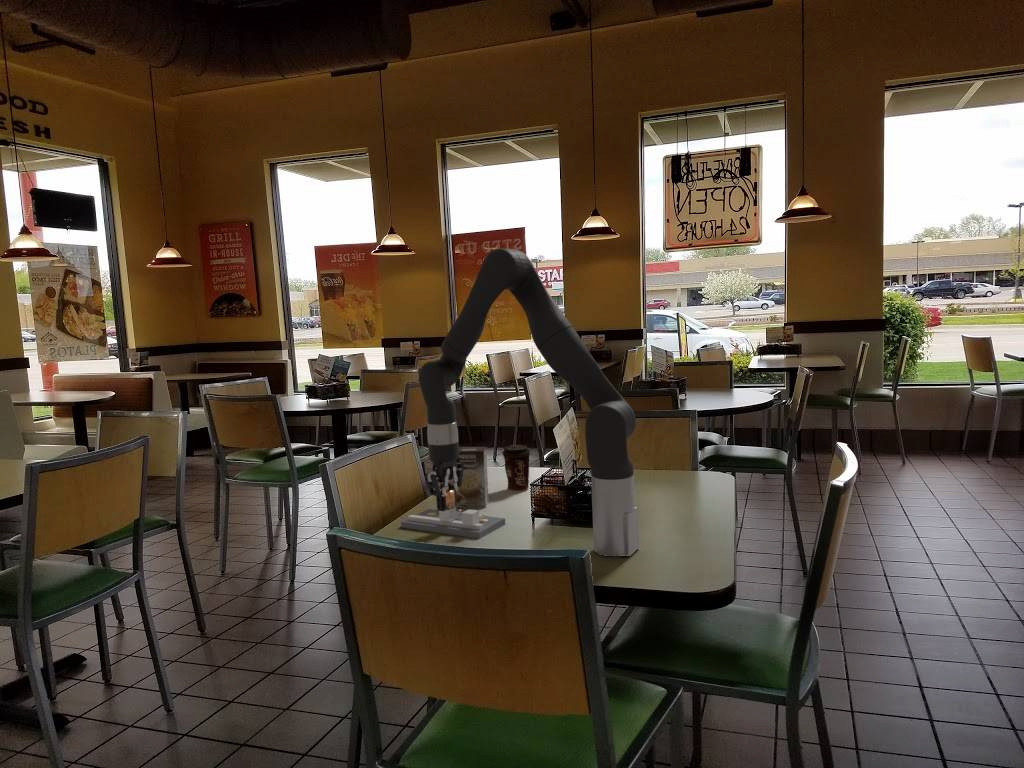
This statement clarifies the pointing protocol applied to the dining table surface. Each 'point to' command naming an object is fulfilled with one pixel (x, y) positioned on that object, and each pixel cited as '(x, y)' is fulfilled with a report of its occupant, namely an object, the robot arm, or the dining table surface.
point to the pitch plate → (454, 523)
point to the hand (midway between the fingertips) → (447, 507)
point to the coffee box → (473, 478)
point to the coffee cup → (517, 467)
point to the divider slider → (449, 507)
